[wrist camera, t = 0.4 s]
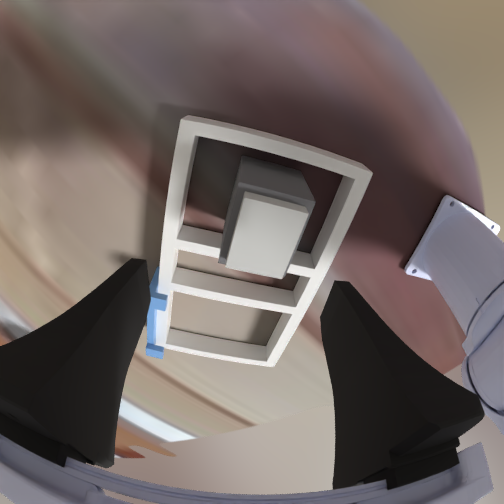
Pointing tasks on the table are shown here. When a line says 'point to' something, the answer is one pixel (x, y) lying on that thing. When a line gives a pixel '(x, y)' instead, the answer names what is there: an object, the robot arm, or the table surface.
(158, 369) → the table surface
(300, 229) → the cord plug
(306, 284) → the white cubby shelf
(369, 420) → the robot arm
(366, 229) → the table surface
